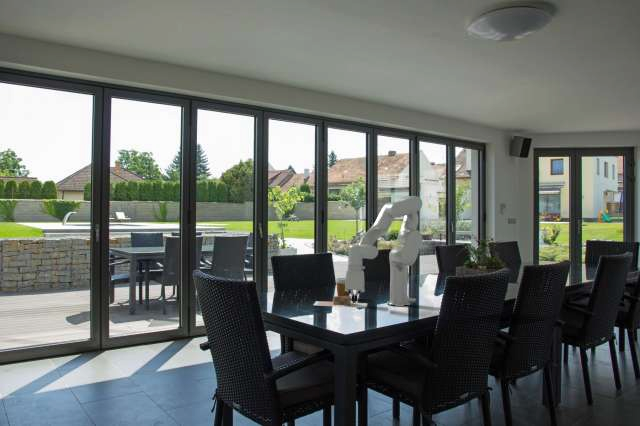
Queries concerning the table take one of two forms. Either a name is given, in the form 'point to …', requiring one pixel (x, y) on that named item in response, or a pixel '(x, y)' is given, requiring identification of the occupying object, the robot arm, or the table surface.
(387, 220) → the robot arm
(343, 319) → the table surface
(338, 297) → the walnut T-block
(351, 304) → the push board
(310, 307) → the table surface
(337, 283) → the disposable coffee cup
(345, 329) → the table surface
